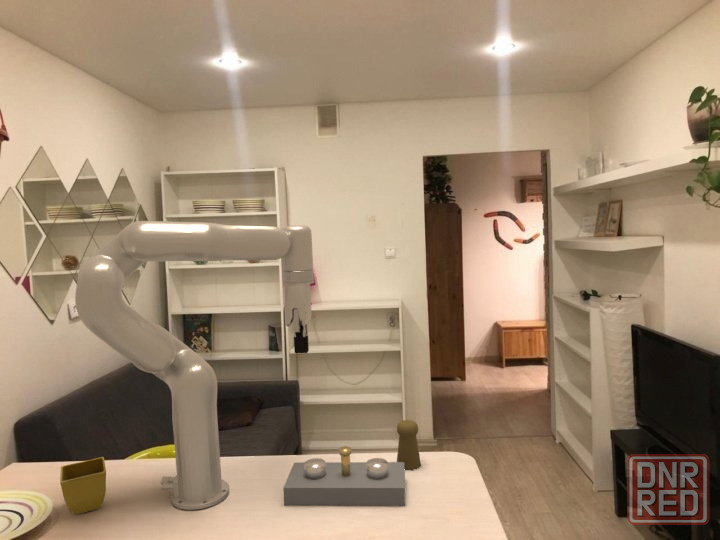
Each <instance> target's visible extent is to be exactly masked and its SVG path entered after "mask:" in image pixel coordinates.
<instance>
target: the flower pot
mask: <svg viewBox="0 0 720 540" xmlns="http://www.w3.org/2000/svg"><path fill="white" fill-rule="evenodd" d="M59 477H60V478H59V482H60V487H61V491H62V496H63V499H64V500H63V501H64V502H65V505H66V507H67V508H68V510H69V512H71V513H72V514H73V515H75V516H76V515H80V514H83V513H87V512H91V511H96V510H99V509H100V508H101V507H102V506H103V502H104V501H105V497H106V493H107V492H106V491H107V469H106V461H105V457H104V456H100V457H97V458H92V459H87V460H84V461H79V462H74V463H70V464H69V463H68V464H66V465H63V466H61V467H60V476H59Z"/></svg>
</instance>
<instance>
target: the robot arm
mask: <svg viewBox="0 0 720 540" xmlns="http://www.w3.org/2000/svg"><path fill="white" fill-rule="evenodd" d="M312 234H313V233H312V229H311V228H310V226H308V225H287V226H283V227H280V226H279V227H278V226H273V225H269V226H268V225H265V226H264V225H260V226H258V225H234V224H233V225H232V224H231V225H230V224H223V223H222V224H221V223H214V222H202V221H200V222H199V221H198V222H197V221H162V220H161V221H160V220H159V221H157V220H138V221H133V222H131V223H130V224H128V225H126V226H125V227H124V228H123V229H122V230H121V231H120V232H118V234H116V235H115V236H114V237H113V238H112V239H110V240H109V241H108V242H106V244H104V245H102V247H101V248H100V249H98V250H97V251H95V252H94V253H93V254H92V255H91V256H90V257H88V258H87V259H86V260H85V261H84V262H83V263H82V264H81V265H80V267H79V269H78V272H77V282H76V287H75V293H74V294H75V296H74V297H75V298H74V299H75V300H74V301H75V302H74V303H75V308H76V312H77V314H78V317H79V318H80V320H81V322H82V324H83V325H84V326H85V327H86V328H87V330H89V331H90V332H91V333H92V334H94V335H95V336H96V337H97V338H99V339H100V340H101V341H103V342H104V343H105V344H107V345H108V346H109V347H110V348H111V349H113V350H114V351H116V353H118V354H120V355H121V356H122V357H124V359H126V360H128V361H129V362H130V363H131V364H133V366H135V367H136V368H137V369H138V370H139V371H140V370H141V371H143V372H145V373H149V374H153V375H154V376H155V377H156V378H158V379H159V380H161V381H162V382H164V383H165V384H166V385H167V386H168V388H169V390H170V392H171V393H170V394H171V409H172V410H171V411H172V412H171V414H172V415H171V417H172V418H171V420H172V430H173V444H174V455H175V456H174V457H175V469H176V475H175V476H170V475H167V476H166V475H165V476H162V477H161V480H160V485H161V490H163V491H164V490H165V491H166V490H171V491H172V493H171V496H170V497H171V498H170V500H171V503H172V505H173V506H175V507H176V508H178V509H181V510H185V511H189V510H190V511H191V510H192V511H194V510H202V509H206V508H210V507H213V506H215V505H218V504H219V503H221V502H222V501H224V500H225V499H226V498H227V497H228V495H229V494H230V485H229V483H228V481H226V480H224V479H222V468H221V467H222V465H221V453H220V452H221V451H220V440H219V439H220V437H219V435H220V434H219V425H218V423H219V422H218V407H217V406H218V380H217V375H216V372H215V371H214V369H213V368H212V366H211V364H209V363H208V362H207V361H206V360H205V359H204V358H203V357H202V356H201V355H200V354H198V352H196V351H194V350H193V349H192V348H190V347H189V346H188V345H187V344H185V343H184V342H183V341H181V340H180V339H179V338H177V337H176V336H175V335H174V334H173V333H171V332H170V331H168V330H167V329H166V328H165V327H163V326H162V325H159V324H157V323H152V322H149V321H148V320H147V319H146V318H144V317H143V316H141V314H140V313H138V312H137V311H136V310H134V308H132V307H131V306H129V305H128V304H127V303H126V302H125V300H124V298H123V296H122V295H123V294H122V292H123V288H124V285H125V280H127V279H128V278H129V277H130V276H131V275H132V274H134V273H135V272H136V271H137V270H138V269H140V267H141V266H142V265H144V264H145V263H147V262H221V261H223V262H224V261H277V260H281V261H280V263H281V264H280V265H281V281H282V282H281V283H282V285H284V286H285V288H284V289H285V290H284V324H285V326H286V327H288V328H289V327H290V326H291V325H292V329H293V345H294V346H293V347H294V353H295V354H307V353H308V352H309V349H310V348H309V347H310V346H309V335H308V334H309V333H308V332H309V331H308V323H309V322H310V321H311V320H312V319H311V318H312V297H311V296H312V295H311V286H310V285H311V284H314V283H315V277H314V259H313V258H314V256H313V255H314V253H313V239H312V237H313V235H312Z"/></svg>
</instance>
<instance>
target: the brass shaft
mask: <svg viewBox="0 0 720 540" xmlns="http://www.w3.org/2000/svg"><path fill="white" fill-rule="evenodd" d="M338 450H339V451H338V452H339V455H340V462H341V469H342V476H344V477H348V476H350V475H351V471H350V462H351V454H352V448H351V446H345V445H344V446H341V447H340V448H339V449H338Z"/></svg>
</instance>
